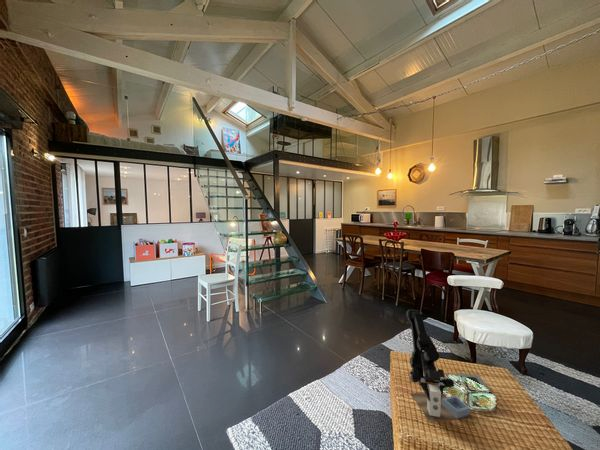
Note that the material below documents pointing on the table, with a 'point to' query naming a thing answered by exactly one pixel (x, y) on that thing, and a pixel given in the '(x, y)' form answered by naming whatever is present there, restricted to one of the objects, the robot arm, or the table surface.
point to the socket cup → (456, 406)
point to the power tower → (434, 400)
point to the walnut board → (444, 413)
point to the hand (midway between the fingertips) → (434, 401)
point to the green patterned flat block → (474, 378)
